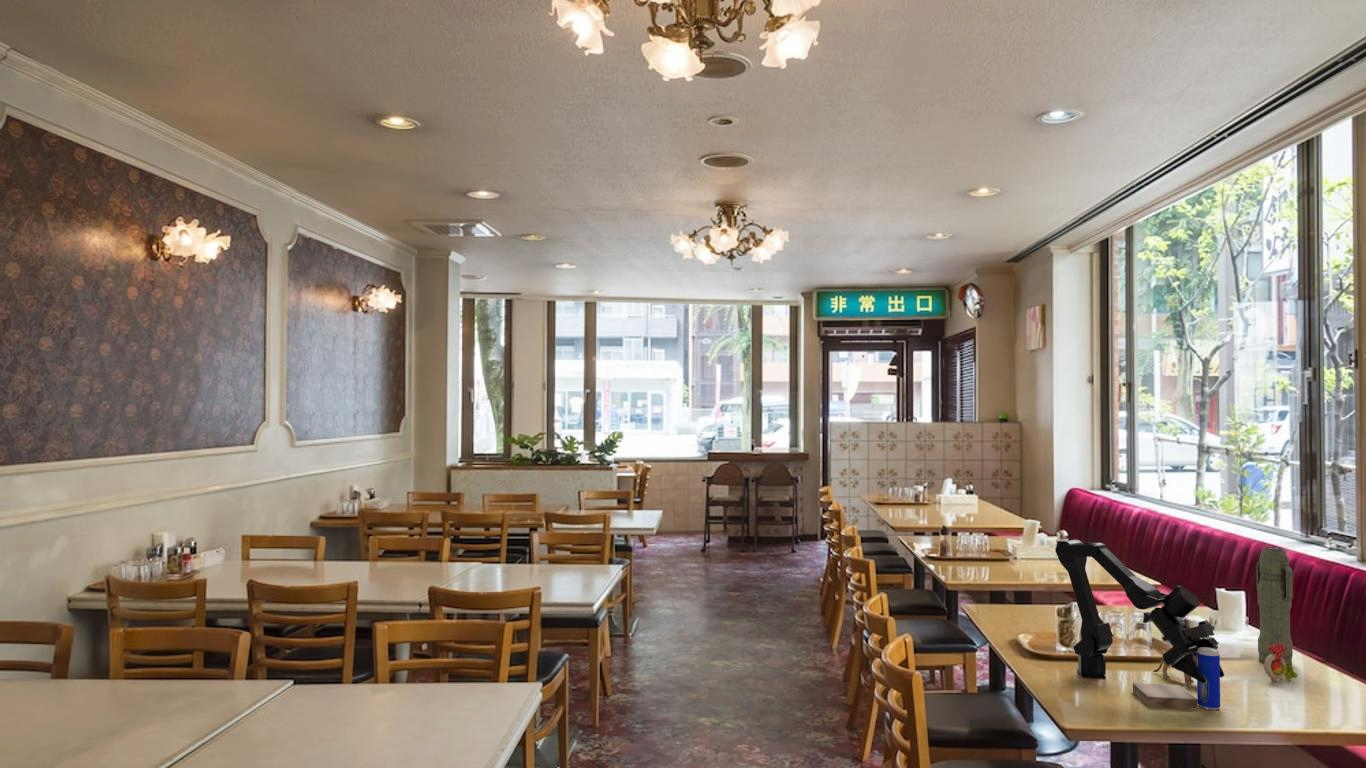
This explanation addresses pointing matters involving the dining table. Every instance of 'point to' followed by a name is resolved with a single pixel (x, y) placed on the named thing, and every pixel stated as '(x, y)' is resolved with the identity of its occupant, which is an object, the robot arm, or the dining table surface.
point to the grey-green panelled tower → (1274, 601)
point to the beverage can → (1209, 678)
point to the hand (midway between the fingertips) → (1214, 679)
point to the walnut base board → (1164, 695)
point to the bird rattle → (1278, 664)
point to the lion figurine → (1165, 667)
